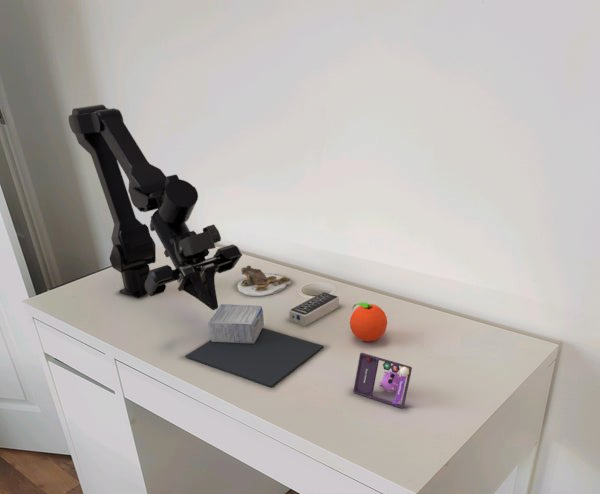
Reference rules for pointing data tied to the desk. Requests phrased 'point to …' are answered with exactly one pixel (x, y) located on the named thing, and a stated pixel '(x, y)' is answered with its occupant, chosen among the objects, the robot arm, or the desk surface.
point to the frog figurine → (261, 282)
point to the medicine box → (236, 323)
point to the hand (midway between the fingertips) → (215, 308)
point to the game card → (390, 379)
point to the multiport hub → (314, 308)
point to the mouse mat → (258, 356)
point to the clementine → (368, 322)
